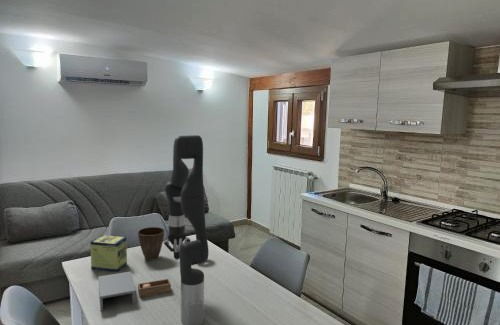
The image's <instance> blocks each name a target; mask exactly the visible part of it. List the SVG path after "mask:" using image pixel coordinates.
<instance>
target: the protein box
mask: <svg viewBox="0 0 500 325" xmlns="http://www.w3.org/2000/svg"><path fill="white" fill-rule="evenodd" d="M127 247H128V246H127V237H126V236H114V235H103V234H101V235H100V236H98V237H97V238H95V239H93V240H91V241H90V269H91V270H97V271H107V272H115V273H117V272H119V271H120V270H121V269H122V268H125V266H126V265H128V256H127V255H128V251H127V250H128V248H127Z"/></svg>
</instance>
